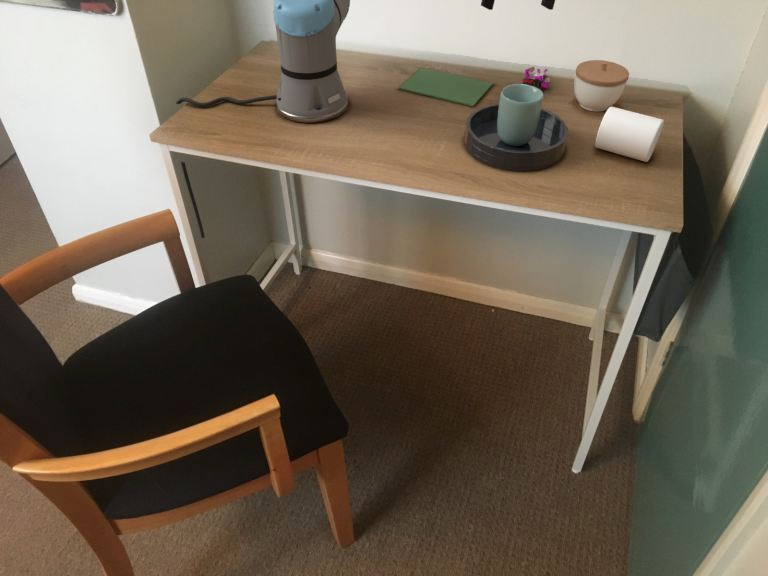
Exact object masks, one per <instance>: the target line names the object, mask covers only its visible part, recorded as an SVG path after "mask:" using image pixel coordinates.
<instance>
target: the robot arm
mask: <svg viewBox="0 0 768 576" xmlns="http://www.w3.org/2000/svg"><path fill="white" fill-rule="evenodd" d="M540 2H541V3H540V5H541V6H542V7H544V8H546V9H547V10H550V11H551V10H554V7H555V3H556V0H541V1H540ZM350 5H351V0H273V10H272V13H273V20H274V25H275V31H276V33H275V34H276V40H277V48H278V57H279V62H280V63H279V64H280V72H281V73H280V78H279V84H278V88H277V92H276V93H277V94H274V95H265V96H259V97H253V98H249V99H236V98H233V97H230V96H222V97H217V98H214V99H212V100H210V101H207V102H199V101H196V100H195V99H192V98H189V97H184V96H183V97H180V98H179V99H178V100H176V102H175V104H176V105H180V104H182V103H183V102H185V103H188V104H191V105H193V106H196V107H200V108H202V107H203V108H205V107H211V106H212V105H213V106H214V105H216V104H218V103H221V102H231V103H233V104H237V105H247V104H253V103H257V102H258V103H259V102H264V101H273V100H276V110H277V112H278V114H279V115H281V116H282V117H283V118H285V119H286V120H290V121H291V122H296V123H305V124H306V123H307V124H312V123H313V124H314V123H315V124H316V123H323V122H327V121H331V120H333V119H335V118H338V117H340V116H342V114H344V113H345V111H346V110H347V109H348V105H349V104H348V95H347V91H346V90H345V87H344V84H343V82H342V79H341V76H340V74H339V70H338V59H337V58H338V57H337V41H336V40H337V35H338V33H339V31H340V29H341V26H342V25H343V23H344V21H345V20H346V18H347V16H348V13H349V10H350ZM494 5H495V0H481V3H480V6H481V7H483V8H485V9H487V10H490V11H492V10H493V8H494ZM180 164H181V168H182V172H183V176H184V179H185V180H184V181H185V183H186V187H187V190H188V195H189V197H190V200H191V203H192V204H191V205H192V207H193V210H194V214H195V218H196V221H197V225H198V229H199V233H200V237H201V239H205V238H206V236H205V232H204V228H203V223H202V220H201V216H200V212H199V209H198V205H197V202H196V199H195V194H194V192H193V189H192V185H191V181H190V178H189V174H188V170H187V166H186V162H184V161H180Z"/></svg>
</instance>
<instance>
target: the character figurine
mask: <svg viewBox="0 0 768 576" xmlns="http://www.w3.org/2000/svg"><path fill="white" fill-rule="evenodd" d="M524 71H525V74H524V75H525V77H524V78H523V79H522V84H525V85H530V86H533V87H536V88H538V89H540V88H542V89H545V90H546V89H549V84H550V80H551V78H550V77H547V76H546V74H547V72H548V71H549V69H548V68H545V69H544V71H542V72H541V68H537V69H535V66H530V67H529V68H526V69H524ZM534 71H536V73H535V74H533V75H532V76H531V75H530V74H531V73H533V72H534ZM545 76H546V77H545ZM544 77H545V79H544ZM543 82H544V83H543Z"/></svg>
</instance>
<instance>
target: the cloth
mask: <svg viewBox="0 0 768 576" xmlns="http://www.w3.org/2000/svg"><path fill="white" fill-rule="evenodd" d="M493 85H494V83H493V82H489V81H484V80H479V79H476V78H470V77H467V76H461V75H456V74H452V73H447V72H443V71H438V70H434V69H430V68H424V67H421V68H420V69H419V70H417V71H416V72H415V73H414V74H413V75H411V76H410V78H409V79H407V80H406V81H405V82H404V83H402V84H401V86H400V87H399V88H398V90H400V91H404V92H409V93H413V94H417V95H421V96H425V97H430V98H434V99H439V100H441V101H446V102H452V103H455V104H459V105H464V106H467V107H475V106H476V104H477V103H478V102H479V101H480V100H481V99H482V98H483V96H484V95H485V94H487V92H488V90H490V89H491V88H492V86H493Z"/></svg>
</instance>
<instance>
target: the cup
mask: <svg viewBox="0 0 768 576" xmlns="http://www.w3.org/2000/svg"><path fill="white" fill-rule="evenodd" d="M543 102H544V93H543V91H542V90H541V89H540V88H536V87H533V86H530V85H525V84H523V83H514V84H509V85H507V86H505V87H504V88H502V90H501V92H500V95H499V102H498V103H499V108H498V116H497V132H498V136H499V138H500V139H501V141H503V142H504V143H506V144H508V145H511V146H522V145H525V144H527V143H528V142H529V141H530V140H531V139H532V138H533V136H534V134H535V132H536V129H537V126H538V122H539V118H540V113H541V108H542V107H543Z"/></svg>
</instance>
